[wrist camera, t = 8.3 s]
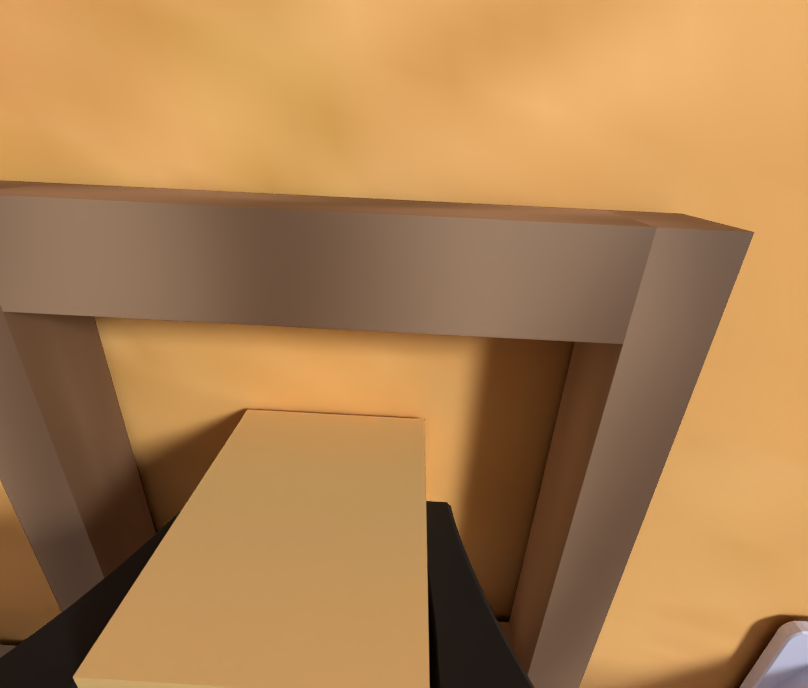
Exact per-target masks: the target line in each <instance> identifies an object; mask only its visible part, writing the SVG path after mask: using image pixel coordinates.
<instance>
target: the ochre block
mask: <svg viewBox="0 0 808 688" xmlns="http://www.w3.org/2000/svg"><path fill="white" fill-rule="evenodd" d="M73 679H74V681H75V683H76V685H77V687H78V688H430V681H429V628H428V575H427V522H426V468H425V419H414V418H396V417H377V416H359V415H340V414H322V413H303V412H285V411H267V410H247V411H246V413H245V414H244V416H243V417H242V419H241V420H240V422H239V423H238V425H237V426H236V428H235V429H234V431H233V432H232V434H231V436H230V437H229V439H228V440H227V442H226V443H225V445H224V446H223V448H222V449H221V451H220V452H219V454H218V455H217V457H216V459H215V460H214V462H213V463H212V465H211V466H210V468H209V469H208V471H207V472H206V474H205V475H204V477H203V478H202V480H201V481H200V483H199V485H198V486H197V488H196V489H195V491H194V492H193V494H192V495H191V497H190V498H189V500H188V501H187V503H186V504H185V506H184V508H183V509H182V511H181V512H180V514H179V515H178V517H177V518H176V520H175V521H174V523H173V524H172V526H171V527H170V529H169V530H168V532H167V534H166V535H165V537H164V538H163V540H162V541H161V543H160V544H159V546H158V547H157V549H156V550H155V552H154V553H153V555H152V557H151V558H150V560H149V561H148V563H147V564H146V566H145V567H144V569H143V570H142V572H141V573H140V575H139V576H138V578H137V579H136V581H135V583H134V584H133V586H132V587H131V589H130V590H129V592H128V593H127V595H126V596H125V598H124V599H123V601H122V602H121V604H120V606H119V607H118V609H117V610H116V612H115V613H114V615H113V616H112V618H111V619H110V621H109V622H108V624H107V625H106V627H105V628H104V630H103V632H102V633H101V635H100V636H99V638H98V639H97V641H96V642H95V644H94V645H93V647H92V648H91V650H90V651H89V653H88V655H87V656H86V658H85V659H84V661H83V662H82V664H81V665H80V667H79V668H78V670H77V671H76V673H75V674H74V676H73Z"/></svg>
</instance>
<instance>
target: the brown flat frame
mask: <svg viewBox="0 0 808 688" xmlns="http://www.w3.org/2000/svg"><path fill="white" fill-rule="evenodd" d="M753 234H754V232H751V231H747V230H743V229H739V228H735V227H732V226H728V225H724V224H720V223H716V222H712V221H708V220H704V219H700V218H696V217H693V216H689V215H685V214H677V213H656V212H636V211H615V210H595V209H574V208H554V207H533V206H513V205H492V204H472V203H451V202H431V201H410V200H390V199H369V198H349V197H328V196H308V195H287V194H267V193H246V192H226V191H205V190H185V189H164V188H144V187H123V186H103V185H82V184H62V183H41V182H21V181H0V480H1V482H2V484H3V487H4V489H5V491H6V493H7V495H8V497H9V499H10V502H11V504H12V506H13V508H14V510H15V512H16V515H17V517H18V519H19V521H20V523H21V525H22V527H23V530H24V532H25V534H26V536H27V538H28V540H29V542H30V545H31V547H32V549H33V551H34V553H35V555H36V557H37V560H38V562H39V564H40V566H41V568H42V570H43V572H44V575H45V577H46V579H47V581H48V583H49V585H50V587H51V590H52V592H53V594H54V596H55V598H56V600H57V602H58V605H59V607H60V609H61V611H62V612H63V611H64V610H66V609H67V608H68V607H69V606H71V605H72V604H73V603H75V602H76V601H77V600H78V599H79V598H81V597H82V596H83V595H84V594H86V593H87V592H88V591H89V590H90V589H92V588H93V587H94V586H95V585H97V584H98V583H99V582H100V581H101V580H103V579H104V578H105V577H106V576H108V575H109V574H110V573H111V572H112V571H114V570H115V569H116V568H117V567H118V566H119V565H121V564H122V563H123V562H124V561H125V560H126V559H128V558H129V557H130V556H131V555H132V554H133V553H134V552H136V551H137V550H138V549H139V548H140V547H141V546H142V545H144V544H145V543H146V542H147V541H148V540H149V539H150V538H152V537H153V536H154V535H155V534H156V533H155V529H154V526H153V522H152V519H151V515H150V512H149V508H148V505H147V501H146V498H145V494H144V491H143V487H142V484H141V480H140V477H139V473H138V470H137V466H136V462H135V459H134V455H133V452H132V448H131V445H130V441H129V438H128V434H127V431H126V427H125V424H124V420H123V417H122V413H121V410H120V406H119V403H118V399H117V396H116V392H115V389H114V385H113V382H112V378H111V375H110V371H109V368H108V364H107V361H106V357H105V354H104V350H103V347H102V343H101V340H100V336H99V333H98V329H97V326H96V322H95V319H94V316H96V317H115V318H134V319H153V320H172V321H191V322H210V323H230V324H249V325H268V326H287V327H306V328H325V329H344V330H363V331H382V332H401V333H421V334H440V335H459V336H478V337H497V338H516V339H535V340H554V341H573V342H575V343H574V347H573V351H572V355H571V360H570V364H569V368H568V372H567V377H566V381H565V385H564V389H563V394H562V398H561V402H560V406H559V411H558V415H557V419H556V424H555V428H554V432H553V436H552V441H551V445H550V449H549V453H548V458H547V462H546V466H545V470H544V475H543V479H542V483H541V487H540V492H539V496H538V500H537V505H536V509H535V513H534V517H533V522H532V526H531V530H530V534H529V539H528V543H527V547H526V551H525V556H524V560H523V564H522V569H521V573H520V577H519V581H518V586H517V590H516V594H515V598H514V603H513V607H512V611H511V615H510V620H509V622H498V623H499V625H500V627H501V629H502V631H503V633H504V635H505V637H506V639H507V640H508V642H509V644H510V646H511V648H512V650H513V651H514V653H515V655H516V657H517V659H518V660H519V662H520V664H521V665H522V667H523V669H524V671H525V672H526V674H527V676H528V677H529V679H530V681H531V682H532V684H533V686H534V688H579V686H580V683H581V681H582V678H583V675H584V673H585V670H586V668H587V665H588V662H589V660H590V657H591V655H592V652H593V649H594V647H595V644H596V642H597V639H598V636H599V634H600V631H601V629H602V626H603V623H604V621H605V618H606V616H607V613H608V611H609V608H610V605H611V603H612V600H613V598H614V595H615V592H616V590H617V587H618V585H619V582H620V579H621V577H622V574H623V572H624V569H625V566H626V564H627V561H628V559H629V556H630V553H631V551H632V548H633V546H634V543H635V540H636V538H637V535H638V533H639V530H640V527H641V525H642V522H643V520H644V517H645V514H646V512H647V509H648V507H649V504H650V501H651V499H652V496H653V494H654V491H655V489H656V486H657V483H658V481H659V478H660V476H661V473H662V470H663V468H664V465H665V463H666V460H667V457H668V455H669V452H670V450H671V447H672V444H673V442H674V439H675V437H676V434H677V431H678V429H679V426H680V424H681V421H682V418H683V416H684V413H685V411H686V408H687V405H688V403H689V400H690V398H691V395H692V392H693V390H694V387H695V385H696V382H697V379H698V377H699V374H700V372H701V369H702V367H703V364H704V361H705V359H706V356H707V354H708V351H709V348H710V346H711V343H712V341H713V338H714V335H715V333H716V330H717V328H718V325H719V322H720V320H721V317H722V315H723V312H724V309H725V307H726V304H727V302H728V299H729V296H730V294H731V291H732V289H733V286H734V283H735V281H736V278H737V276H738V273H739V270H740V268H741V265H742V263H743V260H744V257H745V255H746V252H747V250H748V247H749V245H750V242H751V239H752V237H753ZM15 647H16V646H13V645H0V658H1V657H2V656H3V655H5V654H6V653H8V652H9V651H11V650H12V649H13V648H15Z"/></svg>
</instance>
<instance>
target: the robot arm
mask: <svg viewBox="0 0 808 688" xmlns="http://www.w3.org/2000/svg"><path fill="white" fill-rule="evenodd" d="M181 511H182V510H181ZM181 511H180V512H181ZM180 512H179V513H178V514H177V515H176V516H175V517H174V518H173V519H172V520H170V521H169V522H168V523H167V524H166V525H165V526H164V527H163V528H162V529H160V530H159V531H158V532H157V533H156V534H155V535H154V536H153V537H152V538H150V539H149V540H148V541H147V542H146V543H145V544H144V545H142V546H141V547H140V548H139V549H138V550H137V551H136V552H134V553H133V554H132V555H131V556H130V557H129V558H128V559H126V560H125V561H124V562H123V563H122V564H121V565H119V566H118V567H117V568H116V569H115V570H114V571H112V572H111V573H110V574H109V575H108V576H106V577H105V578H104V579H103V580H101V581H100V582H99V583H98V584H97V585H95V586H94V587H93V588H92V589H90V590H89V591H88V592H87V593H86V594H84V595H83V596H82V597H81V598H79V599H78V600H77V601H76V602H75V603H73V604H72V605H71V606H69V607H68V608H67V609H66V610H64V611H63V612H62V613H60V614H59V615H58V616H57V617H55V618H54V619H53V620H51V621H50V622H49V623H47V624H46V625H45V626H43V627H42V628H41V629H39V630H38V631H37V632H35V633H34V634H33V635H31V636H30V637H28V638H27V639H26V640H24V641H23V642H22V643H20V644H19V645H17V646H16V647H15V648H13V649H12V650H11V651H9V652H8V653H6V654H5V655H3V656H2V657H1V658H0V688H78V687H77V685H76V683H75V681H74V679H73V676H74V674H75V673H76V671H77V670H78V668H79V667H80V665H81V664H82V662H83V661H84V659H85V658H86V656H87V655H88V653H89V651H90V650H91V648H92V647H93V645H94V644H95V642H96V641H97V639H98V638H99V636H100V635H101V633H102V632H103V630H104V628H105V627H106V625H107V624H108V622H109V621H110V619H111V618H112V616H113V615H114V613H115V612H116V610H117V609H118V607H119V606H120V604H121V602H122V601H123V599H124V598H125V596H126V595H127V593H128V592H129V590H130V589H131V587H132V586H133V584H134V583H135V581H136V579H137V578H138V576H139V575H140V573H141V572H142V570H143V569H144V567H145V566H146V564H147V563H148V561H149V560H150V558H151V557H152V555H153V553H154V552H155V550H156V549H157V547H158V546H159V544H160V543H161V541H162V540H163V538H164V537H165V535H166V534H167V532H168V530H169V529H170V527H171V526H172V524H173V523H174V521H175V520H176V518H177V517H178V515H179V514H180ZM426 522H427V575H428V628H429V681H430V688H534V686H533V684H532V682H531V681H530V679H529V677H528V676H527V674H526V672H525V671H524V669H523V667H522V665H521V664H520V662H519V660H518V659H517V657H516V655H515V653H514V651H513V650H512V648H511V646H510V644H509V642H508V640H507V639H506V637H505V635H504V633H503V631H502V629H501V627H500V625H499V623H498V621H497V619H496V617H495V615H494V613H493V612H492V609H491V607H490V605H489V603H488V601H487V599H486V597H485V595H484V593H483V591H482V588H481V586H480V584H479V582H478V579H477V577H476V575H475V573H474V571H473V568H472V566H471V564H470V561H469V559H468V556H467V554H466V551H465V549H464V546H463V543H462V541H461V538H460V535H459V533H458V530H457V527H456V524H455V520H454V517H453V513H452V509H451V506H450V505H449V504H448V503H447V502H431V501H426ZM739 688H808V621H791V622H788V623H785V624H784V625H782V626H781V627H780V628H779V629H778V630H777V632H776V633H775V635H774V636H773V638H772V639H771V641H770V642H769V644H768V645H767V647H766V648H765V650H764V651H763V653H762V654H761V656H760V657H759V659H758V660H757V662H756V663H755V665H754V666H753V668H752V669H751V671H750V672H749V674H748V675H747V677H746V678H745V680H744V681H743V683H742V684H741V686H740V687H739Z"/></svg>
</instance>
